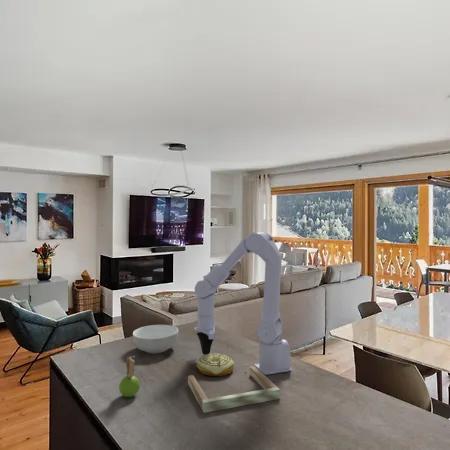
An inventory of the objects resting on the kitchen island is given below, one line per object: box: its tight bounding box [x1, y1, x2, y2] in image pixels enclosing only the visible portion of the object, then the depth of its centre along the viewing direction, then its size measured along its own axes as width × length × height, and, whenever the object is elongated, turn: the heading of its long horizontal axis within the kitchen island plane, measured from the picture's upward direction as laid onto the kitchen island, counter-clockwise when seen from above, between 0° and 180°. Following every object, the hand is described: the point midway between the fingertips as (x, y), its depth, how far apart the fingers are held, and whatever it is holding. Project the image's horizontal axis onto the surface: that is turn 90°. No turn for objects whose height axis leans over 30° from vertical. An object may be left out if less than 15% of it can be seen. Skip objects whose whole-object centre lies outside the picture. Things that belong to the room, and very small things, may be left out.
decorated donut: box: [196, 352, 235, 377], centre depth 114 cm, size 11×12×4 cm
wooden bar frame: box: [187, 365, 281, 413], centre depth 100 cm, size 21×16×2 cm
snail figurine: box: [118, 355, 141, 398], centre depth 97 cm, size 5×6×12 cm
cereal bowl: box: [132, 324, 179, 354], centre depth 133 cm, size 17×17×7 cm
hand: (205, 353), depth 124 cm, fingers closed
